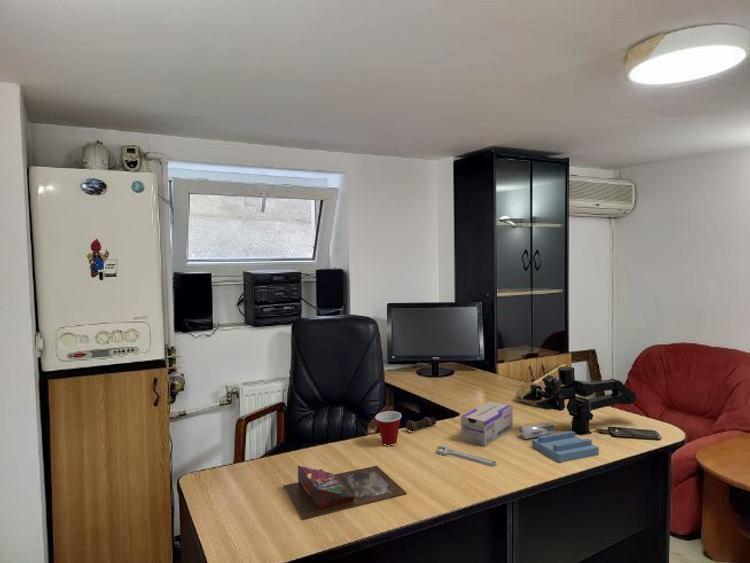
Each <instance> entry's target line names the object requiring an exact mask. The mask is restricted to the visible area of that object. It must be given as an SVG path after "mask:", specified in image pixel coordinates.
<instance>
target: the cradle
mask: <svg viewBox="0 0 750 563" xmlns="http://www.w3.org/2000/svg"><path fill="white" fill-rule="evenodd" d="M592 442H593V441H592V439H590V438H584V439H582V438H580V437H578V436H576V433H575V432H573V431H570V430H569V431H564V432H563V431H562V432H556V433H554V434H550V435H544V436H538V437H537V438H532V439H531V447H532V448H533V449H535V450H536V451H538V452H540V453H541V454H542V455H543V454H544V456H547V457H549V458H551V459H552V460H554V461H555V462H557V463H559V464H560V462H561V463H565V462H570V461H575V460H581V459H586V457H587V458H591V456H592V457H596V456H599V455H600V451H599V450H600V448H599V446H597V445H595V444H593V443H592Z"/></svg>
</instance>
